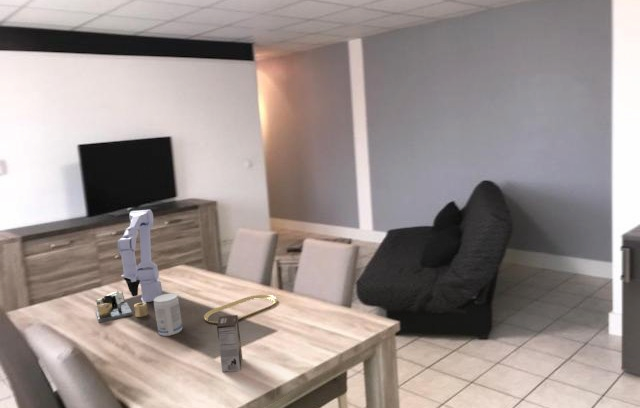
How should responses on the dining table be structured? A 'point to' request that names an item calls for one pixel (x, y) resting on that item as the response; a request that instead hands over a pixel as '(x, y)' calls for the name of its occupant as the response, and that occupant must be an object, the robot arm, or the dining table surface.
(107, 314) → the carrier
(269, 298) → the loop handle
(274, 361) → the dining table surface
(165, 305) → the supplement tub
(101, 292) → the dining table surface
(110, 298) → the pneumatic valve
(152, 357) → the dining table surface
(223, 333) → the coffee box
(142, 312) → the tan hollow octagonal prism
